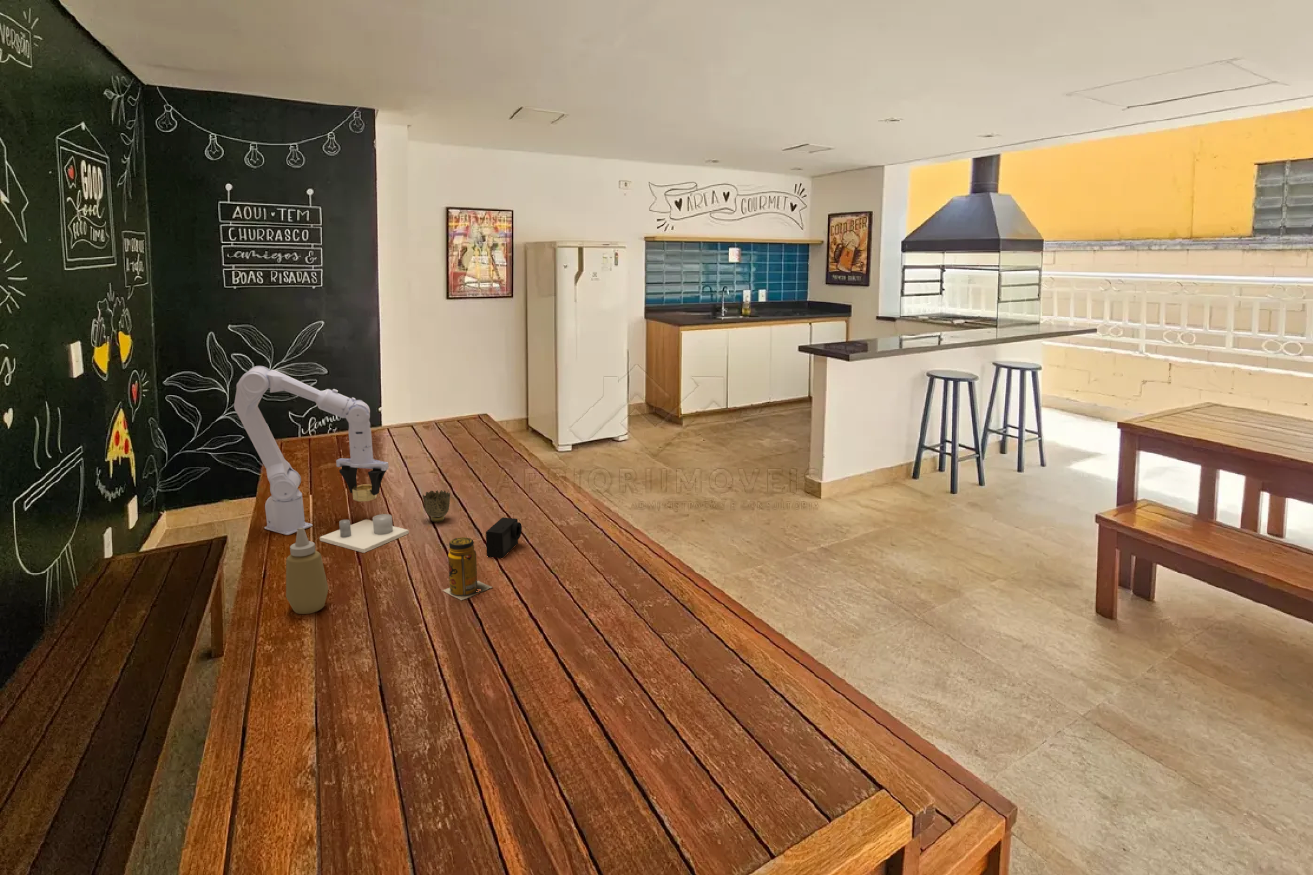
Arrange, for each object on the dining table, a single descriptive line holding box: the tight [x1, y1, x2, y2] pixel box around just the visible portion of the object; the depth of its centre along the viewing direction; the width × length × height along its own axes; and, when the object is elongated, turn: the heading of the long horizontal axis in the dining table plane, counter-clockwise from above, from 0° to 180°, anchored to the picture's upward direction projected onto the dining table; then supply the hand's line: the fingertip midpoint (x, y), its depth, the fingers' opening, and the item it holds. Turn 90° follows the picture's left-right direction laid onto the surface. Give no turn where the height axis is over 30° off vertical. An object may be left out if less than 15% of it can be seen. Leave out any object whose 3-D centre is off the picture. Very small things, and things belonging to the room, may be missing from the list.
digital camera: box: [485, 517, 523, 559], centre depth 182 cm, size 10×5×7 cm, turn 169°
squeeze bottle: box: [285, 527, 329, 615], centre depth 149 cm, size 8×8×18 cm
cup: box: [422, 489, 451, 523], centre depth 201 cm, size 8×7×8 cm
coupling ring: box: [352, 483, 378, 502], centre depth 198 cm, size 6×6×3 cm
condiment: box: [442, 536, 493, 601], centre depth 160 cm, size 7×8×12 cm
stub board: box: [319, 513, 409, 554], centre depth 189 cm, size 16×15×5 cm
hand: (364, 493), depth 198 cm, fingers closed on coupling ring, 6 cm apart
